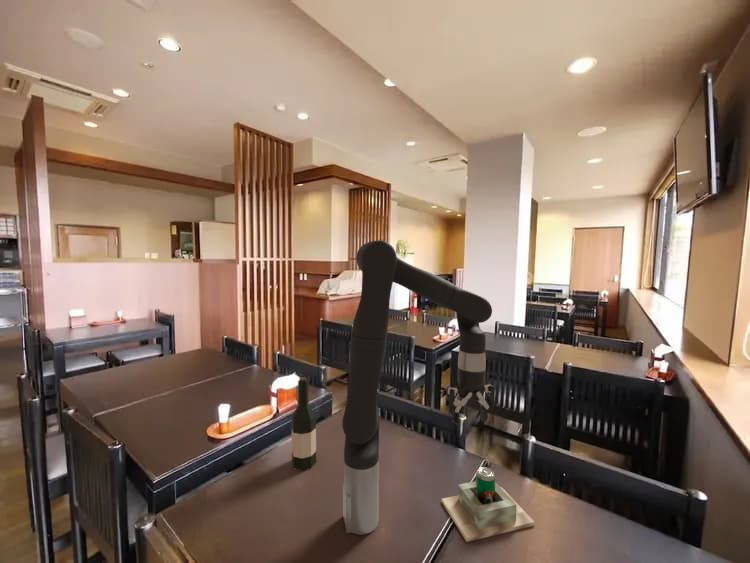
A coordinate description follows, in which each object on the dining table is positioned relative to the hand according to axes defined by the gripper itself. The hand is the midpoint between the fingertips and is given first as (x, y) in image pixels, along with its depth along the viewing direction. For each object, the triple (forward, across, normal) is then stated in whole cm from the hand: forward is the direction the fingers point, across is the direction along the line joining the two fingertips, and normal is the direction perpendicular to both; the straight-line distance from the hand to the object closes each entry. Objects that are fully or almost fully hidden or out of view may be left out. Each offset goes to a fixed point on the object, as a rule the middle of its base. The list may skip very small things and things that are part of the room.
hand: (469, 422), depth 93 cm
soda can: (+24, +3, -5) cm, 25 cm away
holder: (+24, +3, -5) cm, 25 cm away
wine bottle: (+25, -46, +30) cm, 60 cm away
